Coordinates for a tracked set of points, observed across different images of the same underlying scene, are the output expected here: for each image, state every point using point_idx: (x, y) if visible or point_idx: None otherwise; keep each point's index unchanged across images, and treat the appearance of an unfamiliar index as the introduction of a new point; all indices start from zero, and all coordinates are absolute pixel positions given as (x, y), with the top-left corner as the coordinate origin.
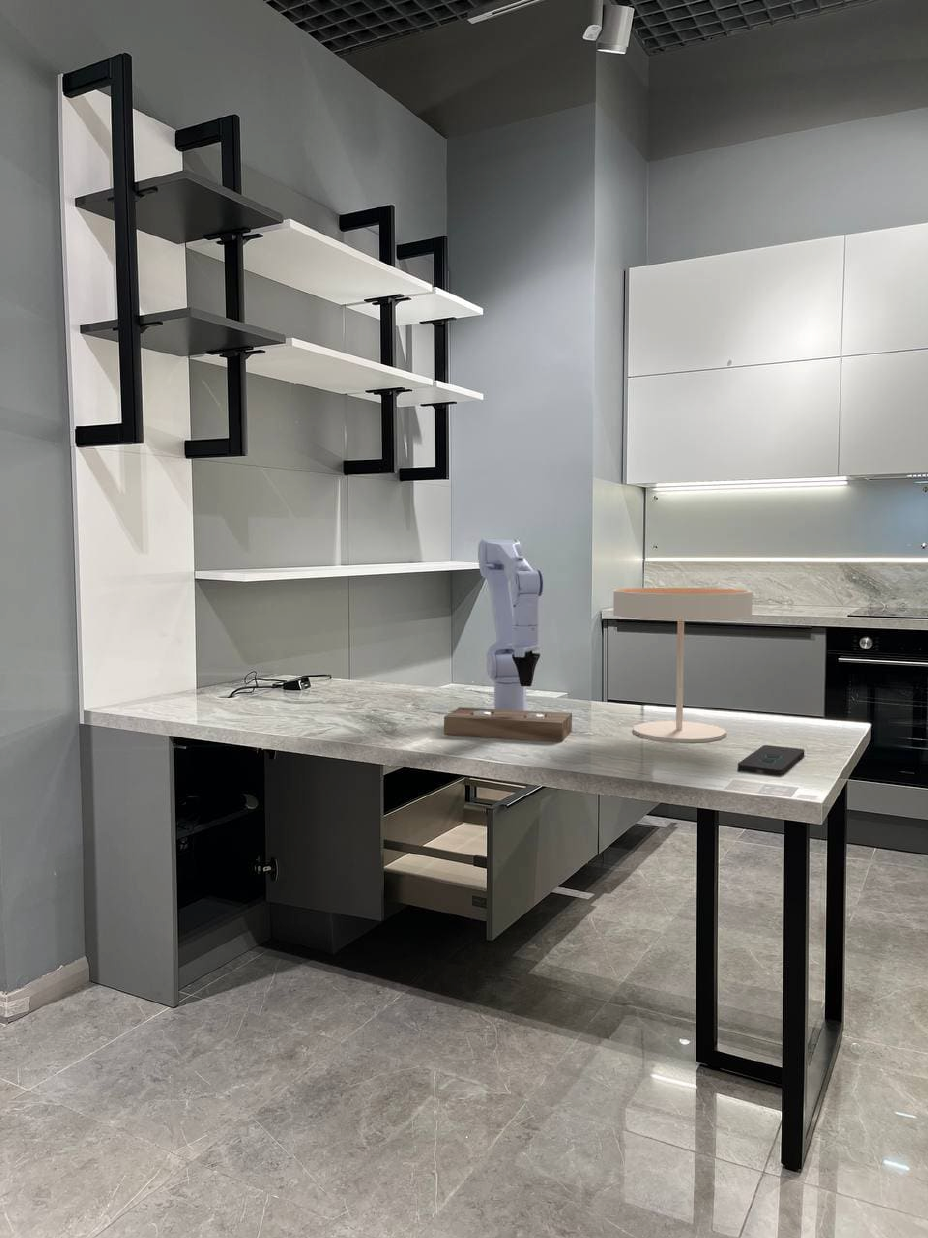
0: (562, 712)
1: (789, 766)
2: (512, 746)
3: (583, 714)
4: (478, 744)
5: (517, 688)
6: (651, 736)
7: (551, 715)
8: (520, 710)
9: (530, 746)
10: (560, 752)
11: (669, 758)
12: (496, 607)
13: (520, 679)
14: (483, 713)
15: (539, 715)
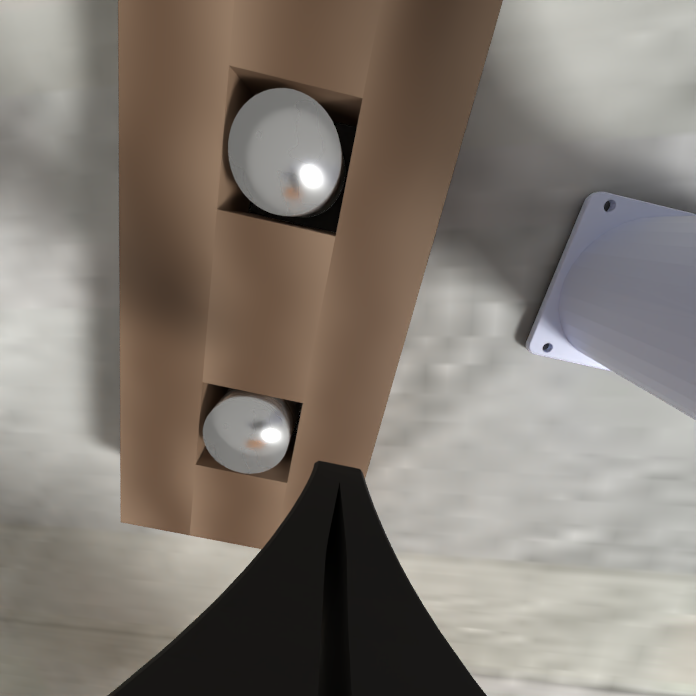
0: None
1: None
2: (33, 314)
3: (649, 558)
4: (19, 171)
5: (681, 397)
6: None
7: (271, 494)
8: (390, 372)
9: (56, 375)
10: (3, 459)
11: (38, 663)
12: None
13: (300, 495)
14: (240, 166)
15: (230, 453)
